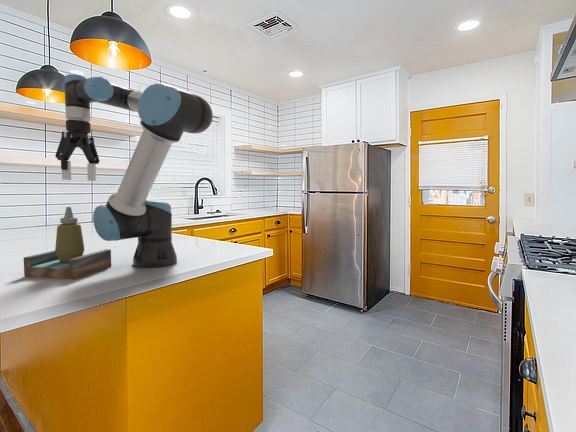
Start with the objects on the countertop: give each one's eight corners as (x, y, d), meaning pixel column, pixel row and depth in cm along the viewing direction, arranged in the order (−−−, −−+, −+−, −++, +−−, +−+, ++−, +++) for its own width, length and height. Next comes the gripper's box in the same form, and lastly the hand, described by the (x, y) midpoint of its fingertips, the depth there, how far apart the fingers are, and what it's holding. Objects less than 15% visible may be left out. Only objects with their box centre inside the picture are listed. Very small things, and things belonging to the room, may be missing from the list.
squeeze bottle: (70, 264, 103) (68, 208, 102) (49, 263, 105) (46, 207, 104) (90, 259, 111) (89, 206, 110) (70, 258, 113) (68, 206, 112)
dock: (111, 266, 116) (110, 249, 116) (75, 279, 99) (74, 259, 99) (66, 264, 118) (66, 247, 117) (24, 276, 101) (23, 257, 100)
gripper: (90, 127, 130) (91, 180, 132) (40, 112, 105) (43, 179, 107) (108, 127, 130) (109, 181, 132) (63, 113, 105) (65, 179, 107)
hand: (79, 180), depth 120 cm, fingers open, 13 cm apart
